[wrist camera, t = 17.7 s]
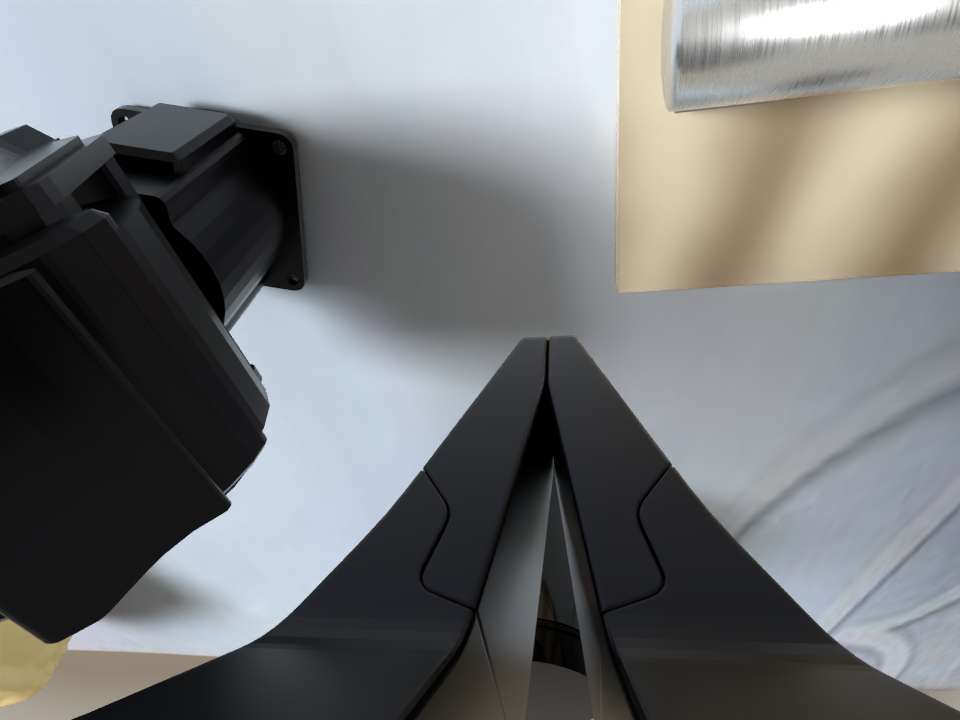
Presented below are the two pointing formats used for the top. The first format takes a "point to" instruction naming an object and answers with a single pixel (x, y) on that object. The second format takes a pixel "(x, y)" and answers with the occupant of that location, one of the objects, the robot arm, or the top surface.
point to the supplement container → (557, 635)
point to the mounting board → (779, 180)
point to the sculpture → (25, 663)
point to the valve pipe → (802, 48)
